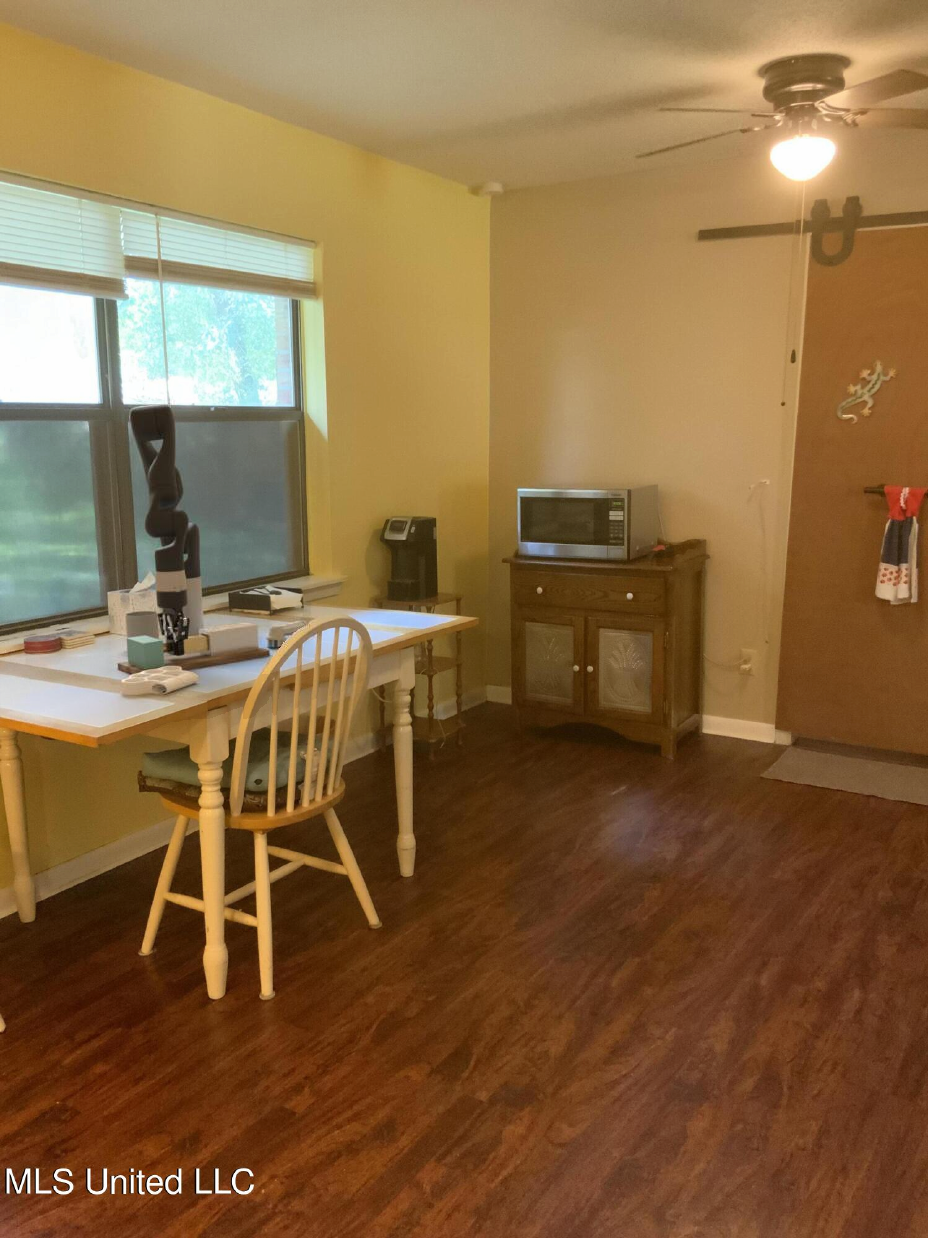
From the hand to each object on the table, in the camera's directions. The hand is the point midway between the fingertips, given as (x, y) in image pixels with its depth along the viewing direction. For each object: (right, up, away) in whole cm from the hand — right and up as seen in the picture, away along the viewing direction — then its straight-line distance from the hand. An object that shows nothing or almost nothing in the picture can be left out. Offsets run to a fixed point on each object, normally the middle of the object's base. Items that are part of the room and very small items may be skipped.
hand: (175, 653), depth 265 cm
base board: (+4, -2, +4) cm, 6 cm away
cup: (-15, 0, +23) cm, 27 cm away
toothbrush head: (+24, +2, +32) cm, 40 cm away
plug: (+4, +1, +4) cm, 6 cm away
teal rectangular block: (-6, -3, -5) cm, 8 cm away
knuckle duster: (+2, -8, -22) cm, 23 cm away
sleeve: (+12, 0, +10) cm, 15 cm away
